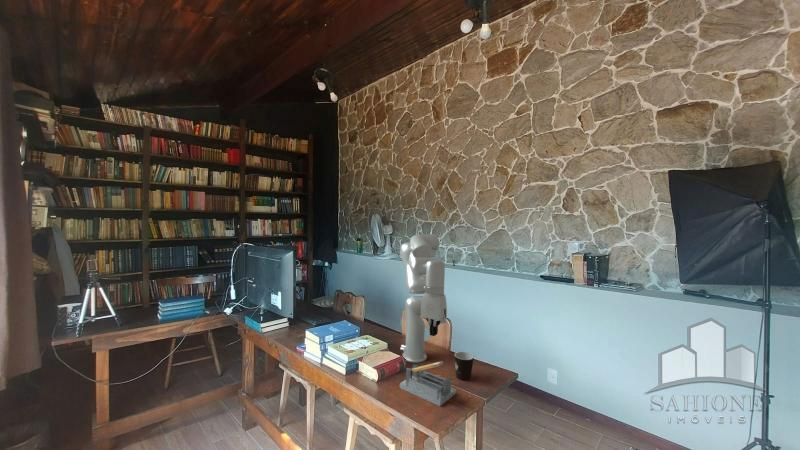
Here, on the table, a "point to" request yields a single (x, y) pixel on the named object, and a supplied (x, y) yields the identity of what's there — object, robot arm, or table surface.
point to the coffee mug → (463, 365)
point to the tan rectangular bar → (427, 366)
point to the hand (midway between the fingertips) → (433, 334)
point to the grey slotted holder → (428, 386)
